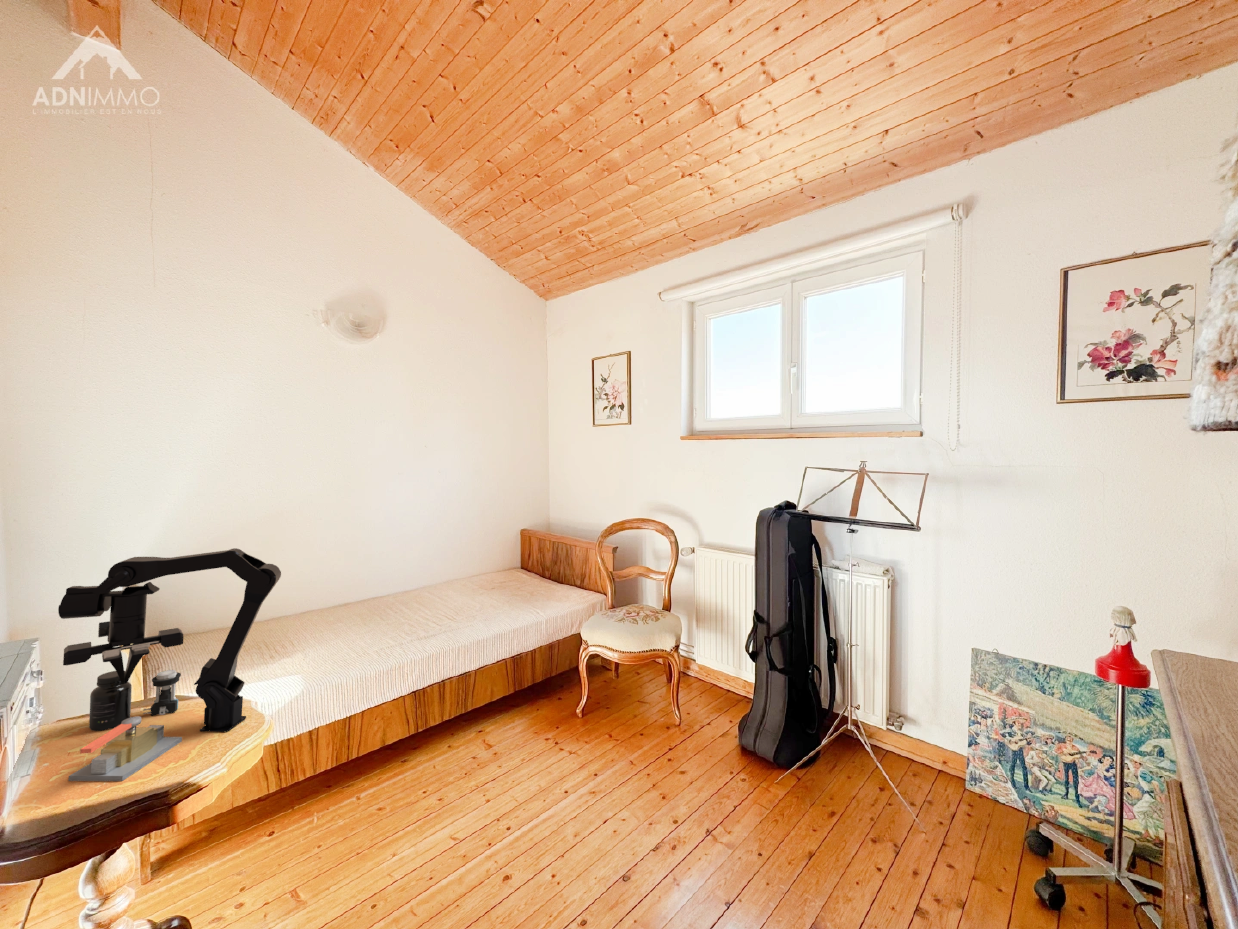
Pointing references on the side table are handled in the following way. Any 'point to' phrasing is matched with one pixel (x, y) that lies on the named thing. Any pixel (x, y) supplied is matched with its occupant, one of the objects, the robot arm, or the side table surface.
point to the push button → (165, 693)
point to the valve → (126, 748)
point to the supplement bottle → (109, 702)
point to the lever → (111, 734)
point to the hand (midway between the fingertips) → (124, 683)
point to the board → (129, 767)
